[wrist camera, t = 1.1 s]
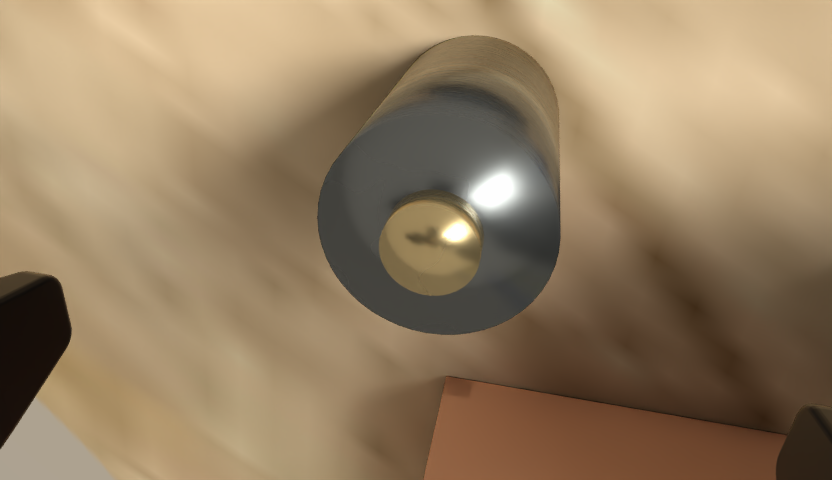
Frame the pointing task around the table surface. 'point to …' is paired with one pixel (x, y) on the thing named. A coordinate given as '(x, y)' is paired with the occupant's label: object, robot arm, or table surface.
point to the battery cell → (450, 192)
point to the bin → (584, 440)
